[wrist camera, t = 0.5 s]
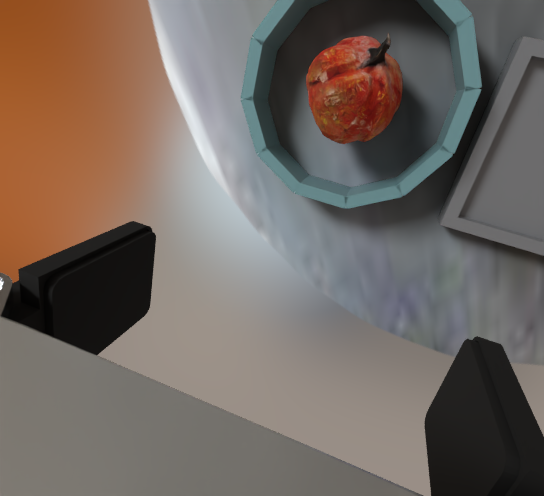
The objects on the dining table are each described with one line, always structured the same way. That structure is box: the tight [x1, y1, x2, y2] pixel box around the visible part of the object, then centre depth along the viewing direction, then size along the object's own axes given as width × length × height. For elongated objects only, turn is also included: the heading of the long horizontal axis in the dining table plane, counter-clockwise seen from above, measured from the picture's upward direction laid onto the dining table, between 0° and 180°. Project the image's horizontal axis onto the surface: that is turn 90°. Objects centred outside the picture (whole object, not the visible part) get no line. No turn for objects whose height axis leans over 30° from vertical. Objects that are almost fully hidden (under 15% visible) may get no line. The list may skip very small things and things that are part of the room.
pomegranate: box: [306, 32, 403, 144], centre depth 28 cm, size 7×7×10 cm
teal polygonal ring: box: [241, 0, 482, 209], centre depth 29 cm, size 17×17×4 cm
